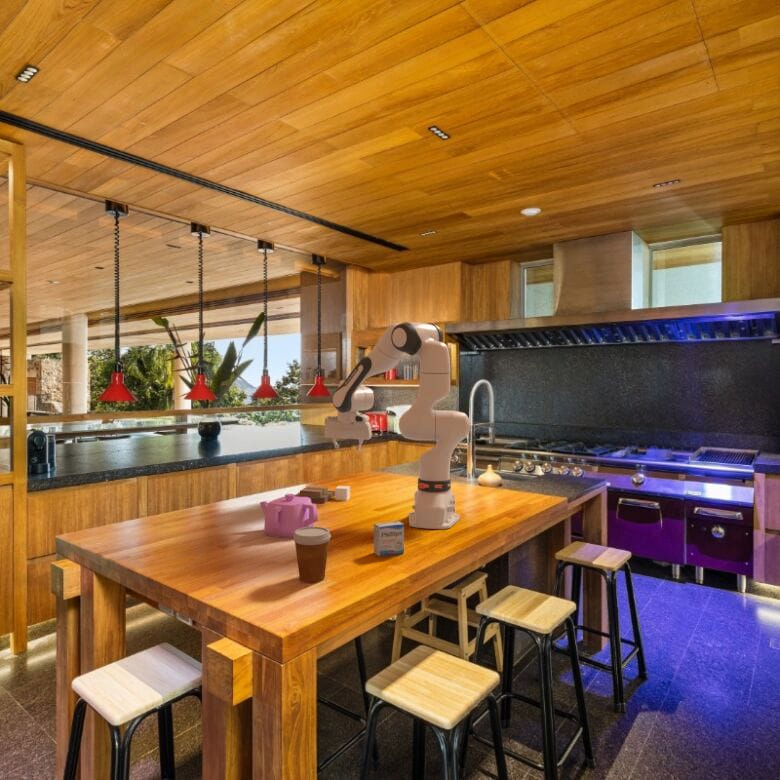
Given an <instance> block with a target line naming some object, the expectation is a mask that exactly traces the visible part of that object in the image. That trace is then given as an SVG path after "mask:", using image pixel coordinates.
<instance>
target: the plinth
mask: <svg viewBox="0 0 780 780" xmlns="http://www.w3.org/2000/svg"><path fill="white" fill-rule="evenodd" d="M294 496H295V497H308V498H310V499H311V503H312V504H325V503H327V502H328V501H330V500H331V499H333V498H334V497H335V490H329V489H328V487H327V486H326V487H325V486H306V487H304V488H302V489H300V490H299V492H298V493H296V494H294Z"/></svg>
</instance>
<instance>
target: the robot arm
mask: <svg viewBox="0 0 780 780" xmlns="http://www.w3.org/2000/svg"><path fill="white" fill-rule="evenodd" d="M443 341H444V332H443V330H442V328H441V327H439V325H437V324H435V323H432V322H427V323H426V322H420V321H413V322H412V321H411V322H407V321H406V322H402V323H397V322H395V323H391V324H390V325H388V326H387V328H386V329H385V330H384V331H383V333H382V334H381V336H380V337H379V339H378V341H377V342H376V344H375V346H374V347H373V348H372V349H371V350H370V352H368V354H366V356H364V357H363V358H362V359H360V361H358V363H357V364H356V365H355V366H354V368H353V369H352V371H351V372H350V373H349V375H348V376H347V377H346V378H343V379H340V381H339V383H338V387H337V388H336V389H335V391H334V393H333V394H332V397H331V402H332V405H333V407H334V408H335V409H336V410H337V416H336V415H334V416H332V415H328V416H327V417H325V418H324V431H323V433H324V438H325V439H331V440H332V443H333V444H334V449H335V450H339V449H340V444H339V443H338V442H337V440H338V439H344V440H345V439H347V440H358V444H357V445H356V446H355V450H356V451H360V450H361V446H362V444H363V442H364V440H366V441H367V440H368V441H369V440H370V439H371V438H372V434H373V433H372V426H371V423H370V422H369V421H370V416H369V415H366V414H363V413H361V412H359V411H368V410H371V409H372V408H373V407H374V406H375V403H376V395H375V392H374V391H373V389H372V388H370V387H368V386H365V385H363V383H364V382H365V381H366V380H367V379H369V378H370V377H372V376H375V375H379V374H382V373H386V372H389V371H391V370H393V369H395V367H396V366H397V365H398V364H399V362H400V361H401V360H402V358H403V356H404V354H407V355H410V356H412V357H413V356H415V355H416V356H417V357H418V358H419V385H418V392H417V396H416V399H415V400H414V403H413V404H412V406H410V408H409V409H407V410H406V411H405V412H404V413H402V415H401V417H400V419H399V421H398V429H399V432H400V434H401V436H402V437H403V438H404V439H408V440H412V441H434V442H436V443H435V444H436V445H434V447H433V448H431V449H429V450H427V451H424V452H423V453H422V454H421V455H420V457H419V459H418V469H419V471H418V478H417V490H416V491H415V492H414V505H412V506H411V507H412V510H414V511H410V512H408V515H407V516H408V526H409V527H413V528H419V529H432V530H447V529H450V528H451V527H453V525H455V524H456V523H457V522H458V521H459V520H460V519H461V515H459V514H457V513H456V495H455V494H454V493H453V492H452V489H451V488H452V486H451V485H452V481H451V478H450V475H451V474H450V471H451V468H450V467H451V460H452V455H453V453H454V451H455V449H456V447H457V446H458V444H460V443H461V442H462V441H463V440H464V439H466V438H467V437H468V435H469V433H470V431H471V420H470V417H469V416H468V415H467V414H466V413H465V412H462V411H457V410H452V409H450V410H444V409H443V410H439V409H438V410H436V409H433V407H434V406H435V405H436V404H437V403H439V402H441V401H443V400H445V399H447V397H449V395H450V394H451V378H452V377H451V376H452V375H451V370H452V369H451V358H450V352H449V348H448V345H447V344H446V343H444V342H443Z"/></svg>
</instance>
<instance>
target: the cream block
mask: <svg viewBox="0 0 780 780" xmlns="http://www.w3.org/2000/svg"><path fill="white" fill-rule="evenodd" d="M334 491H335V496H334V497H335V499H334V500H335V501H346V502H347V501H349V499H350V498H351V486H350V485H347V486H346V485H338V486H337V487H335V489H334Z"/></svg>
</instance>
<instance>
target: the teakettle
mask: <svg viewBox="0 0 780 780" xmlns="http://www.w3.org/2000/svg"><path fill="white" fill-rule="evenodd" d="M294 495H295V494H294V493H286V494H284V496H281V497H278V498H276V499H272V500H271V501H269V502H268V501H266V500H264V501H260V502H259V504H260V507H261V510H262V512H263V513H264V515H265V516H264V532H265V535H266V536H269V535H270V537H276V536H278V537H277V538H284V537H289V538H288V539H293V536H294V534H295V531H296V530H297V529H300V528H304V527H314V525H315V524H314V523H316V522H318V521H319V519H318V509H317V508H318V507H317V503H311V499H310V498H308V497H295V496H294Z"/></svg>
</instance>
